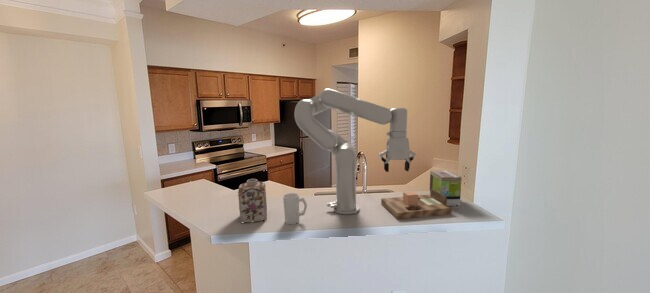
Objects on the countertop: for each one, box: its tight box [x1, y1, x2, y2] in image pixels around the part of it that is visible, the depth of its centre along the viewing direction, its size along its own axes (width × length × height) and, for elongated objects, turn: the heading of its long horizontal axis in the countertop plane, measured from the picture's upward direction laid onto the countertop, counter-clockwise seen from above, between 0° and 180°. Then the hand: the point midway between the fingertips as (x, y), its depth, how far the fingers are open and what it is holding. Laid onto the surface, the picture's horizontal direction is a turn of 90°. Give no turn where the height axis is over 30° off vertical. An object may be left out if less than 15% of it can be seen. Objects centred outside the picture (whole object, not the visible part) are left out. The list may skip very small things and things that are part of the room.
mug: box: [282, 192, 308, 225], centre depth 115 cm, size 10×7×12 cm, turn 90°
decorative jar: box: [237, 178, 268, 224], centre depth 120 cm, size 12×12×18 cm
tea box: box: [429, 170, 462, 207], centre depth 134 cm, size 15×10×15 cm, turn 179°
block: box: [402, 190, 419, 206], centre depth 125 cm, size 5×5×5 cm
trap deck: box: [380, 189, 452, 220], centre depth 125 cm, size 26×19×7 cm
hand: (396, 171), depth 122 cm, fingers open, 9 cm apart
